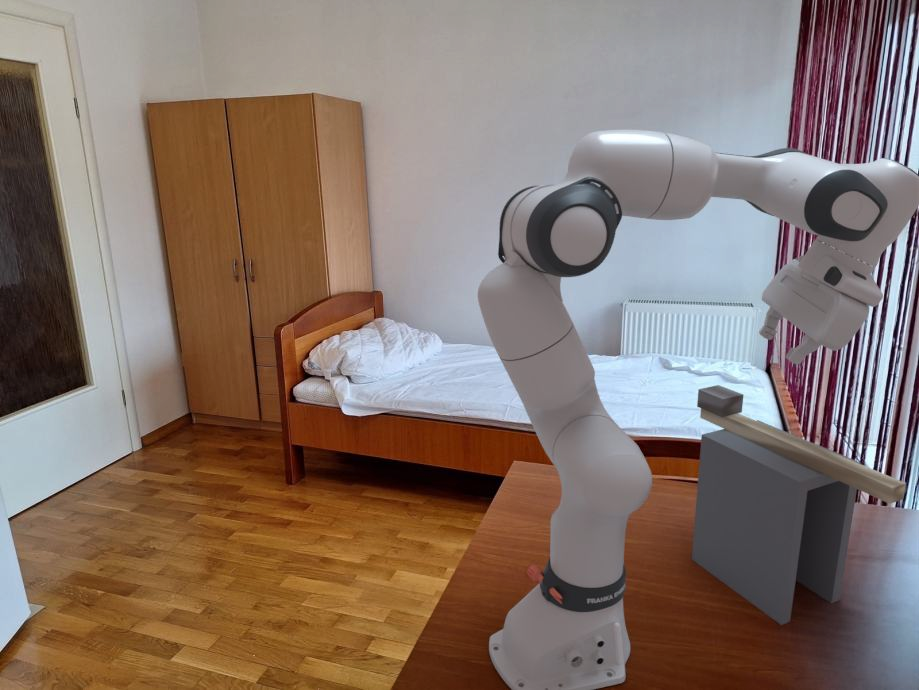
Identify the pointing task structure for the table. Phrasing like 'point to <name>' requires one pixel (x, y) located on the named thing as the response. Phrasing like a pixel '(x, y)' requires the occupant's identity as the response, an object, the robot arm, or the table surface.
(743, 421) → the birch beam
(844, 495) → the charcoal shelf
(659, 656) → the table surface
